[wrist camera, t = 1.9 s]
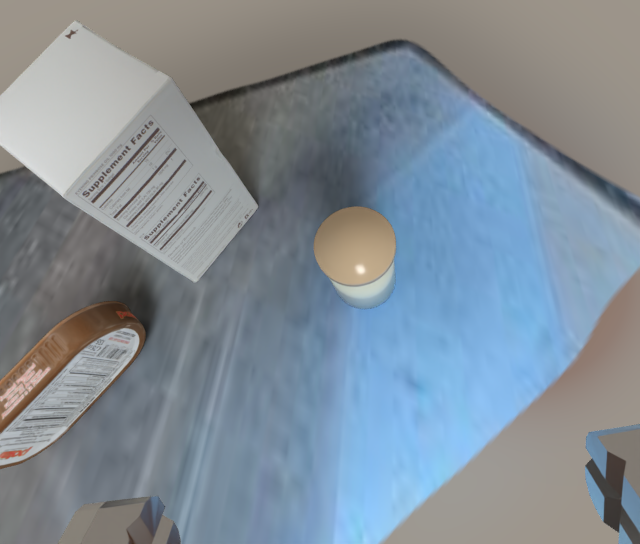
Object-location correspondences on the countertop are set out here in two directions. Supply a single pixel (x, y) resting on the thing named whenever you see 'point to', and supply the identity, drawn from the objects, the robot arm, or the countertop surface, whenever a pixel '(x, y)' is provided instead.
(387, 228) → the jar
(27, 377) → the tin
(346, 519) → the countertop surface
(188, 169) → the supplement box
